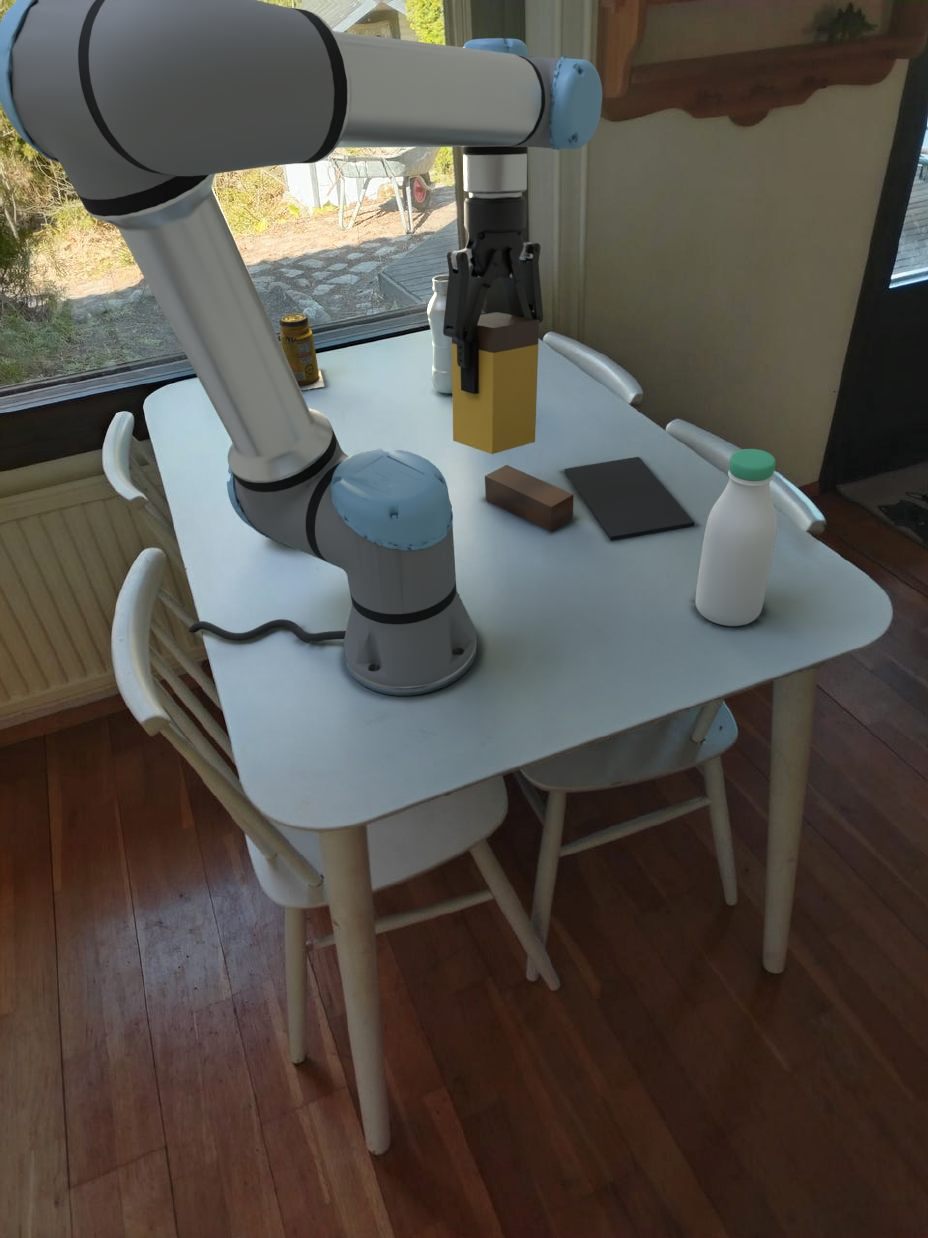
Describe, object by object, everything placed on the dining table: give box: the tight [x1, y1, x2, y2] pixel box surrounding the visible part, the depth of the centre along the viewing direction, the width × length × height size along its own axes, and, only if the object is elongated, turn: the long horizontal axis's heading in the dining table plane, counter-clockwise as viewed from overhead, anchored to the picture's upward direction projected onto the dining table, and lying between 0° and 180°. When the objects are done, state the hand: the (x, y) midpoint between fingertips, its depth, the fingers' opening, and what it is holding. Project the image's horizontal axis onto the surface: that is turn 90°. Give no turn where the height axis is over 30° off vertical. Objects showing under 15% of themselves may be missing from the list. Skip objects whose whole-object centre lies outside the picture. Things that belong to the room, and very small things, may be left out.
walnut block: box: [484, 464, 575, 533], centre depth 121 cm, size 13×4×4 cm, turn 43°
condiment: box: [279, 313, 325, 391], centre depth 160 cm, size 7×8×12 cm
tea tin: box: [451, 311, 540, 455], centre depth 113 cm, size 16×8×8 cm
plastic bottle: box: [426, 274, 452, 394], centre depth 150 cm, size 6×7×20 cm
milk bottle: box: [694, 448, 778, 627], centre depth 96 cm, size 8×8×20 cm
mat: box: [563, 456, 695, 541], centre depth 123 cm, size 12×20×1 cm, turn 13°
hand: (494, 385), depth 113 cm, fingers closed on tea tin, 8 cm apart
